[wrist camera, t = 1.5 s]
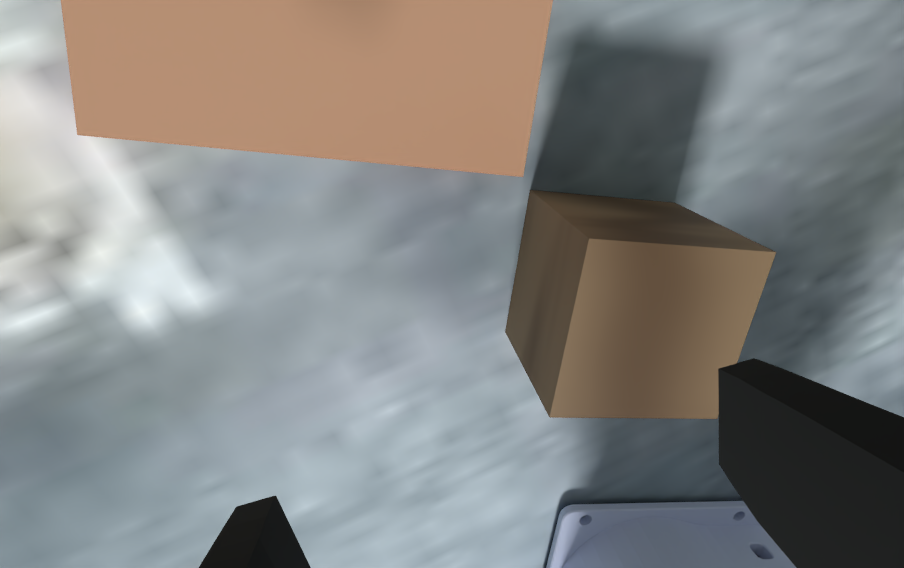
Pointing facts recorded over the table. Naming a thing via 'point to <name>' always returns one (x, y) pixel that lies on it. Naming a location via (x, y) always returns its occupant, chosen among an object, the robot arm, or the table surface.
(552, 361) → the walnut block
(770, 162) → the table surface
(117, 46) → the terracotta tile
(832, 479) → the robot arm
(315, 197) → the table surface
